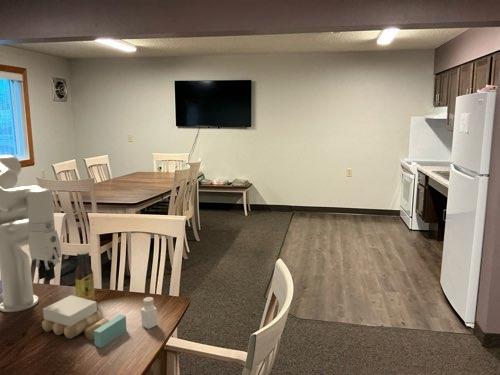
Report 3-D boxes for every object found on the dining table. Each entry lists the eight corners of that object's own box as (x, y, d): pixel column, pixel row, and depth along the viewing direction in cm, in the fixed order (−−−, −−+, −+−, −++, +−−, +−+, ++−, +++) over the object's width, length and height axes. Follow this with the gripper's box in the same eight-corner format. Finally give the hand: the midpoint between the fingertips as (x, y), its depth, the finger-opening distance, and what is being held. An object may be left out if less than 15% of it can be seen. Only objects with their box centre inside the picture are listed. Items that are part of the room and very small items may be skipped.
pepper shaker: (147, 330, 129) (146, 303, 127) (141, 325, 132) (139, 299, 130) (158, 325, 132) (156, 298, 130) (151, 321, 135) (150, 295, 133)
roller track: (42, 330, 129) (41, 319, 128) (72, 314, 140) (71, 303, 139) (92, 346, 120) (91, 334, 119) (120, 327, 131) (119, 316, 130)
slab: (43, 318, 128) (42, 308, 128) (71, 304, 138) (70, 295, 138) (70, 326, 124) (69, 316, 123) (97, 311, 133) (96, 301, 133)
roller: (95, 340, 123) (92, 328, 122) (86, 339, 124) (83, 328, 124) (111, 329, 129) (109, 318, 129) (102, 328, 131) (100, 317, 130)
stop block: (95, 345, 120) (93, 330, 119) (120, 328, 130) (119, 314, 129) (101, 347, 119) (100, 332, 118) (126, 330, 129) (125, 316, 128)
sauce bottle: (88, 308, 144) (84, 256, 140) (73, 306, 145) (68, 255, 142) (98, 300, 150) (95, 250, 147) (84, 298, 151) (80, 249, 148)
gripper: (68, 226, 130) (73, 278, 133) (35, 220, 137) (40, 271, 140) (49, 231, 123) (54, 287, 126) (14, 226, 130) (20, 278, 133)
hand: (47, 278), depth 133 cm, fingers open, 2 cm apart
